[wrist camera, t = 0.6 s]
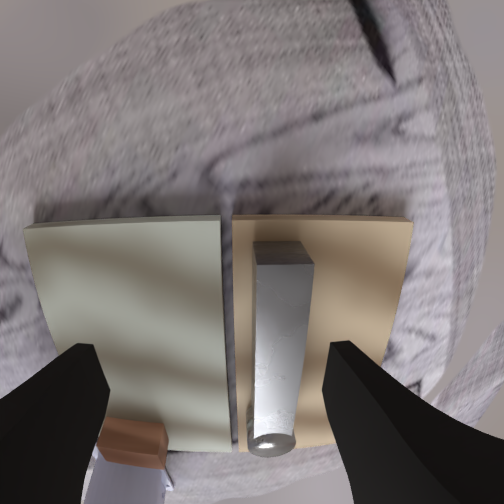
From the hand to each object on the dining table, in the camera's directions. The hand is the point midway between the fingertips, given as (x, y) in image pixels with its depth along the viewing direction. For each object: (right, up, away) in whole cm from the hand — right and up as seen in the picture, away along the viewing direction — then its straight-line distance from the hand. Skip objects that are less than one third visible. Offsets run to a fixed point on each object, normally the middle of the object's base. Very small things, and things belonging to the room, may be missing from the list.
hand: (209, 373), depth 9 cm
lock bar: (+2, -3, +9) cm, 10 cm away
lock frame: (-1, -4, +11) cm, 12 cm away
